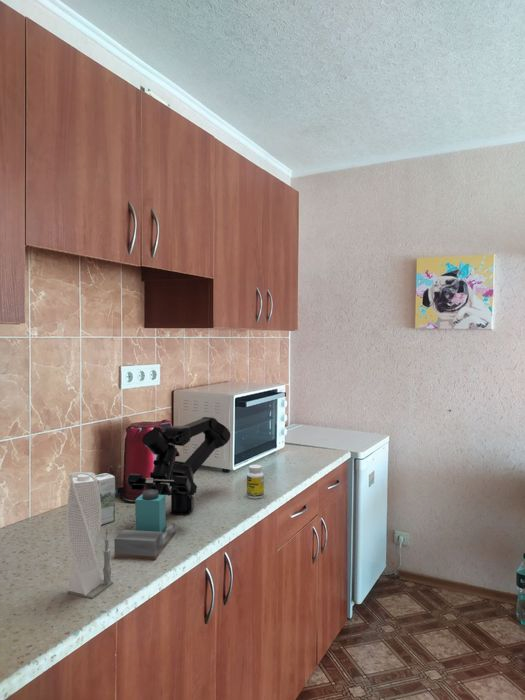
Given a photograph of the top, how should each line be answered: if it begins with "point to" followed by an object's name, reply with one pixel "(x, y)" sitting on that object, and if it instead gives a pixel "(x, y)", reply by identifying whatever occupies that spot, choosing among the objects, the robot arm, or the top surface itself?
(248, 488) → the pill bottle
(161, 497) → the teal tall block
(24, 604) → the top surface
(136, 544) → the mount
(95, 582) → the skyscraper
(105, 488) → the syrup box
